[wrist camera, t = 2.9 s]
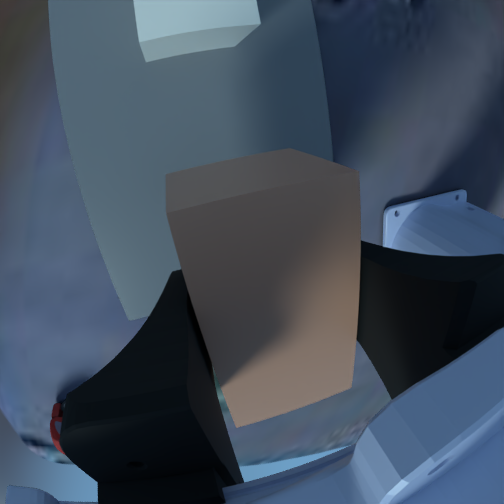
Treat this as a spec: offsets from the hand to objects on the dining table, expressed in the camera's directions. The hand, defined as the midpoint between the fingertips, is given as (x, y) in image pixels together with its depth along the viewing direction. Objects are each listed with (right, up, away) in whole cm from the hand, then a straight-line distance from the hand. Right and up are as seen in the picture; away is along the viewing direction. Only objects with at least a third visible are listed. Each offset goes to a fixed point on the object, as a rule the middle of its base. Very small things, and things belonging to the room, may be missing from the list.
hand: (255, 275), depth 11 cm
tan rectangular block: (0, +1, +1) cm, 1 cm away
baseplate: (-3, +9, +3) cm, 10 cm away
